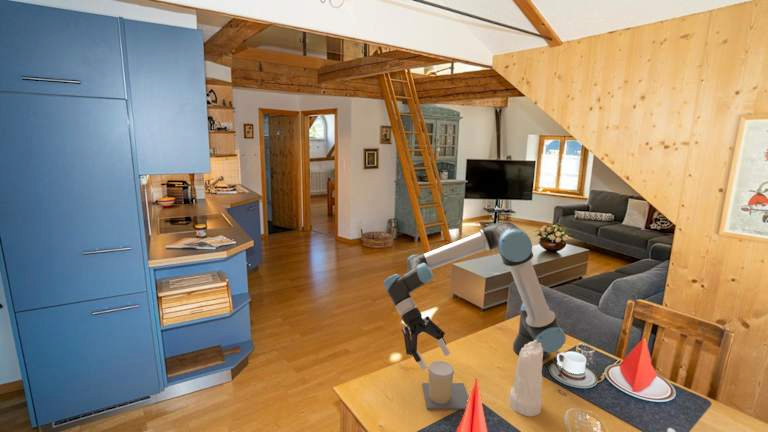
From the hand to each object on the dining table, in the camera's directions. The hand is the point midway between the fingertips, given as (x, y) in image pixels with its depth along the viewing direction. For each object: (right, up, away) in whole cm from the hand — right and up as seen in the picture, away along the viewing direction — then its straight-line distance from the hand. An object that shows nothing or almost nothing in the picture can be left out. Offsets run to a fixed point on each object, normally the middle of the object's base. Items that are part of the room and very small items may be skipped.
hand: (437, 362), depth 148 cm
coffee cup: (+1, -12, -2) cm, 12 cm away
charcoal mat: (+3, -13, -1) cm, 13 cm away
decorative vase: (+31, -14, -5) cm, 35 cm away
